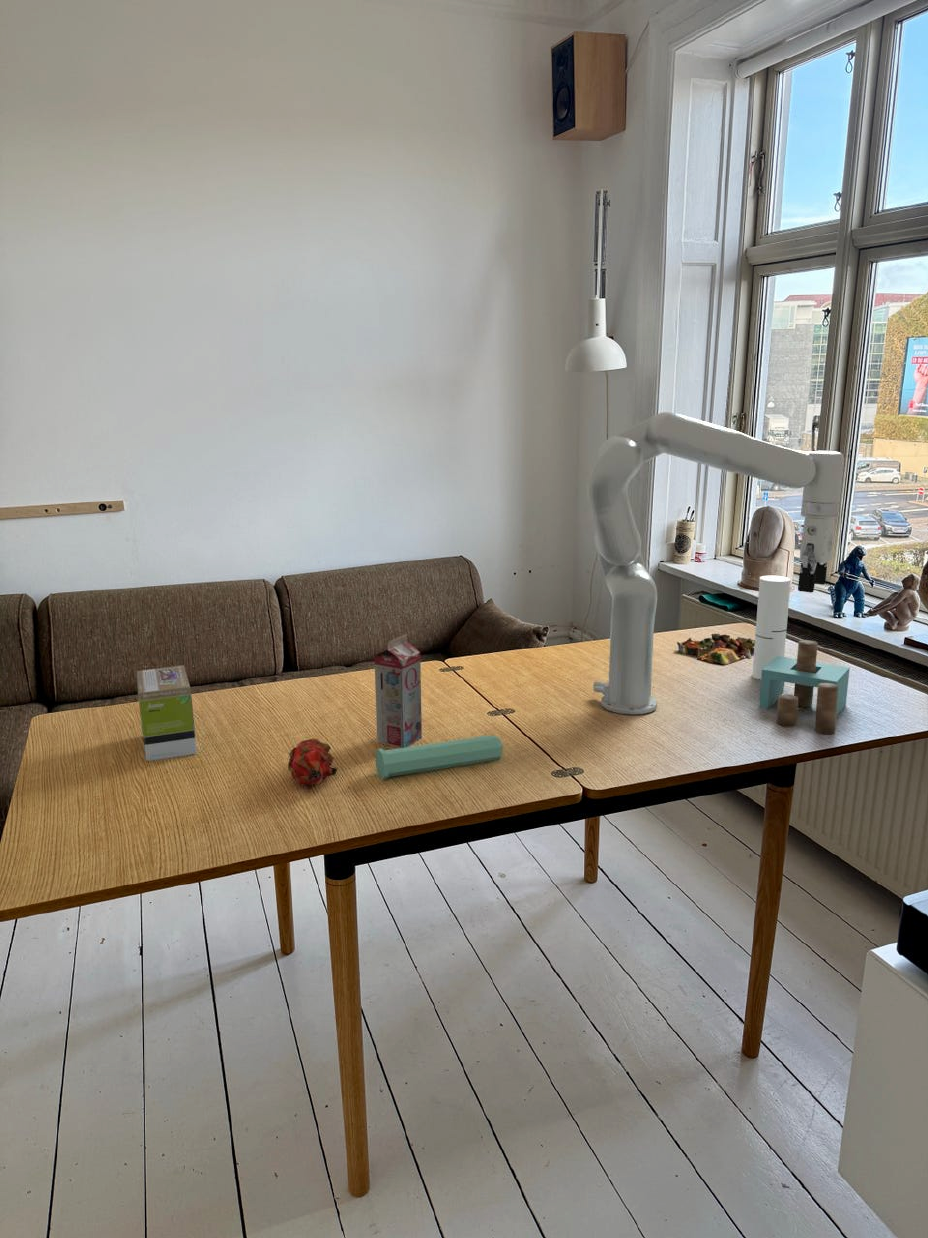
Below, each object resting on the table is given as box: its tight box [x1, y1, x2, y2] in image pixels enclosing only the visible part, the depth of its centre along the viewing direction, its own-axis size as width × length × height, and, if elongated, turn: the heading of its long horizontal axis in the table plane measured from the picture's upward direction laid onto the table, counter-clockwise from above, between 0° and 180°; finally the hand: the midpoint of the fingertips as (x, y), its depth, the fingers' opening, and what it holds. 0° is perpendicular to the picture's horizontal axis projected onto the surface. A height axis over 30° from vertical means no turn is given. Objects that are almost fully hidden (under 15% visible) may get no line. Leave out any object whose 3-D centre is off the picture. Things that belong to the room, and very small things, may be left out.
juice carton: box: [373, 633, 423, 749], centre depth 189 cm, size 7×7×22 cm
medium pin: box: [814, 683, 838, 735], centre depth 194 cm, size 4×4×10 cm
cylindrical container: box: [751, 574, 792, 680], centre depth 228 cm, size 7×7×25 cm
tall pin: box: [793, 639, 818, 710], centre depth 208 cm, size 4×4×15 cm
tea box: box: [136, 664, 198, 762], centre depth 189 cm, size 15×10×15 cm
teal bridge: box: [758, 656, 851, 718], centre depth 209 cm, size 16×12×9 cm
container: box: [375, 734, 504, 781], centre depth 179 cm, size 6×6×25 cm
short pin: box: [775, 693, 799, 728], centre depth 199 cm, size 4×4×6 cm
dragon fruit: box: [287, 738, 338, 790], centre depth 172 cm, size 8×8×12 cm
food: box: [674, 633, 755, 666], centre depth 252 cm, size 22×19×4 cm
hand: (811, 587), depth 203 cm, fingers open, 9 cm apart
